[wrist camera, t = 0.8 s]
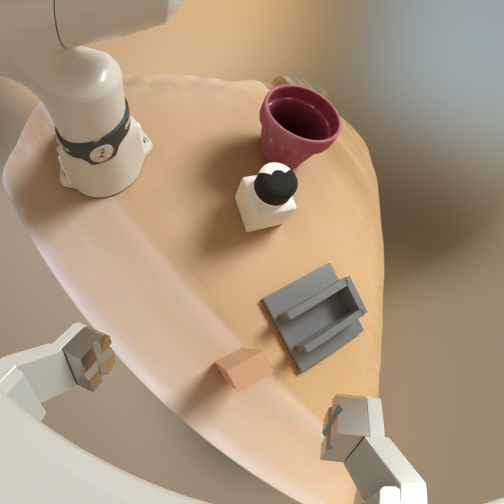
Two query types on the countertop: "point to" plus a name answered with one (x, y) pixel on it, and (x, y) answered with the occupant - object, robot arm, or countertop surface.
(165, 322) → the countertop surface
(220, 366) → the tall tan pillar block
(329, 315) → the rack
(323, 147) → the plant pot
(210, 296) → the countertop surface
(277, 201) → the medicine bottle
